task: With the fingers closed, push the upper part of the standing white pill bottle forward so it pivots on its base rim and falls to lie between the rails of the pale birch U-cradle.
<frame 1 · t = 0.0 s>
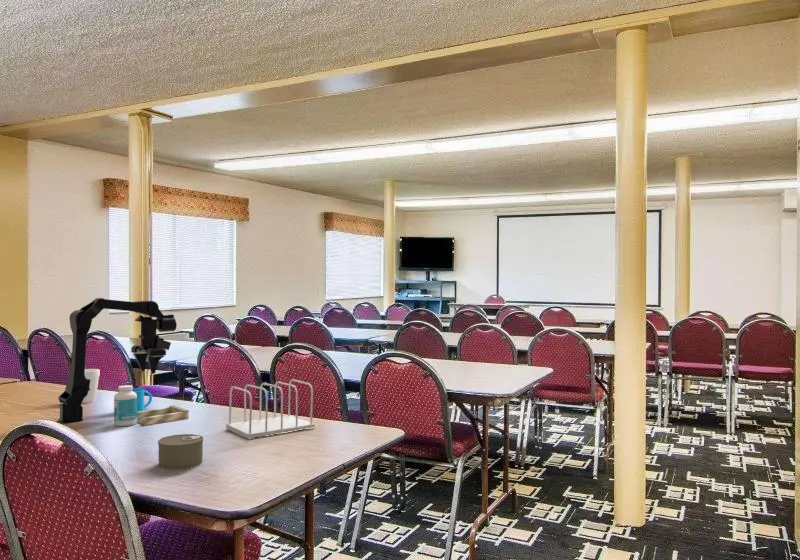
hand: (148, 372, 247), 15 cm above the table, fingers open, 9 cm apart
can: (180, 464, 176), on the table
mug: (137, 410, 246), on the table
foam cup: (87, 402, 262), on the table
cradle: (157, 419, 230), on the table
pill bottle: (125, 424, 222), on the table
file sorter: (270, 430, 217), on the table
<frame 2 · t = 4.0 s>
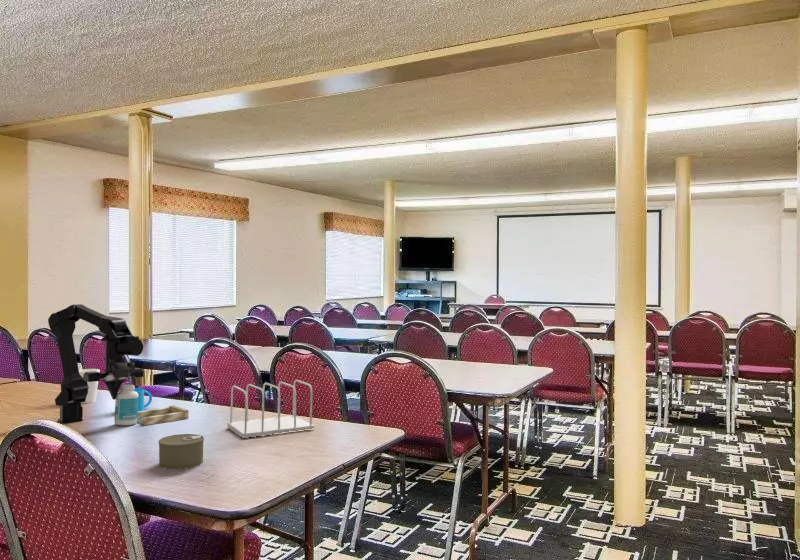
hand: (113, 399, 219), 9 cm above the table, fingers closed
pill bottle: (125, 424, 222), on the table, touching gripper
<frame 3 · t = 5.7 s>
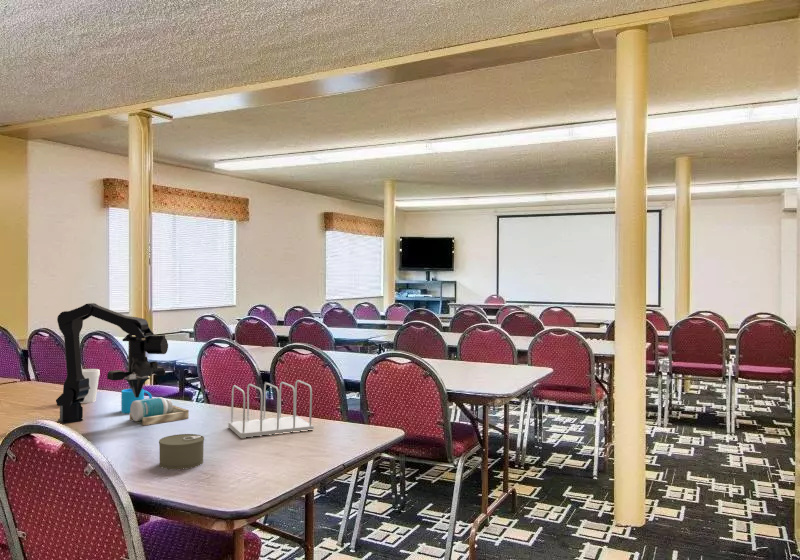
hand: (136, 397, 225), 9 cm above the table, fingers closed
pill bottle: (133, 411, 225), point 4 cm above the table, touching cradle
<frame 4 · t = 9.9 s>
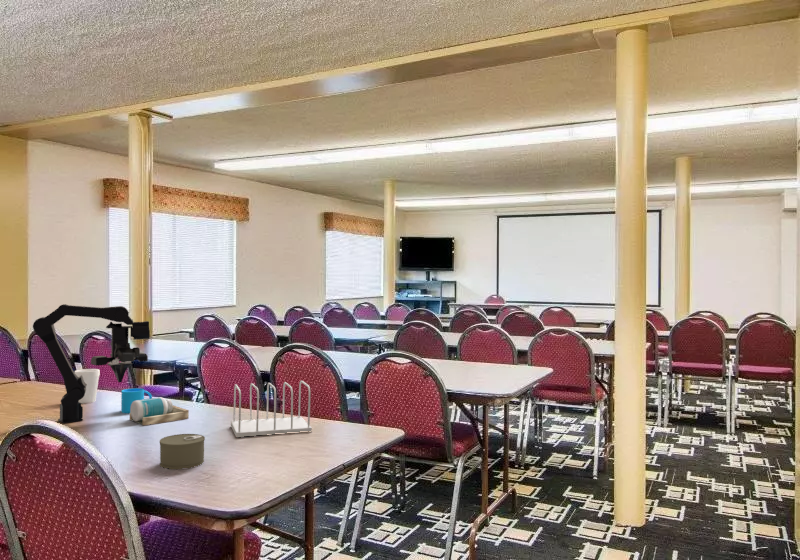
hand: (119, 382, 233), 13 cm above the table, fingers closed
at the end: pill bottle tilted 90°; pill bottle inside the target area (3.5 cm from its centre), point 4.0 cm above the table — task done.
